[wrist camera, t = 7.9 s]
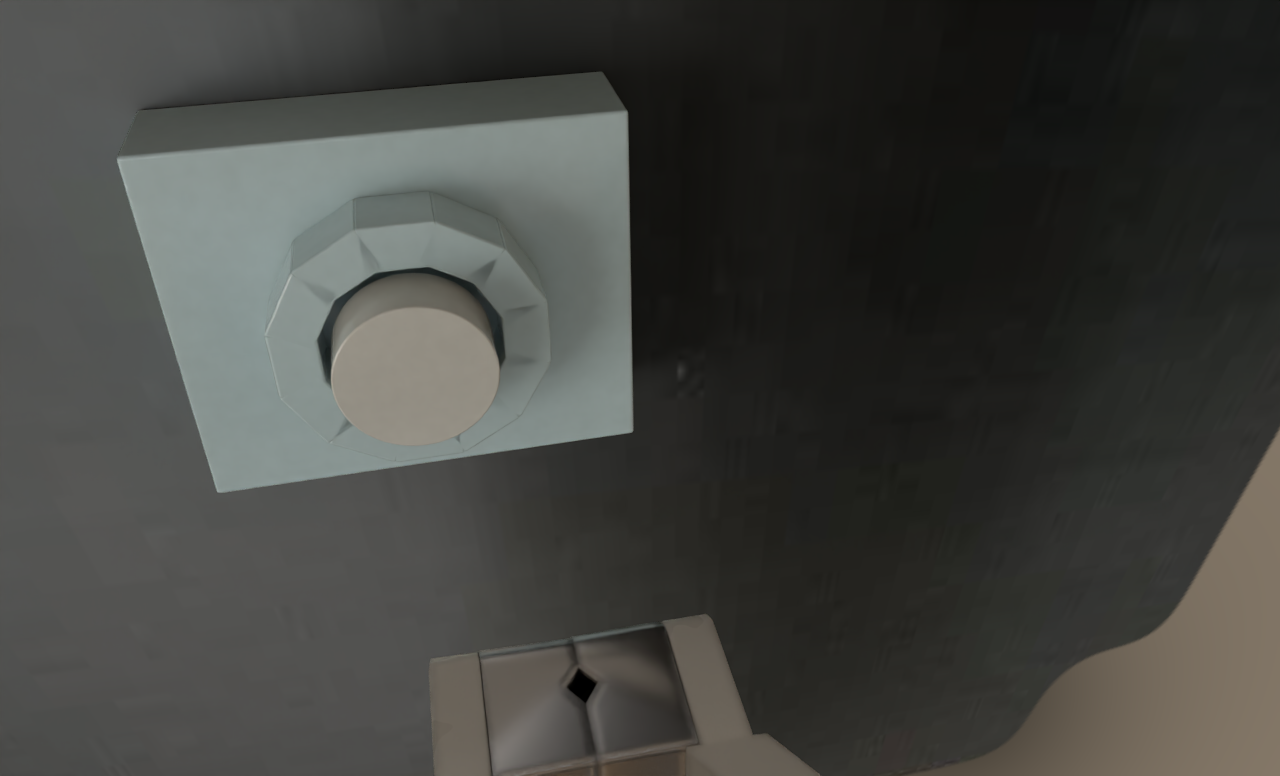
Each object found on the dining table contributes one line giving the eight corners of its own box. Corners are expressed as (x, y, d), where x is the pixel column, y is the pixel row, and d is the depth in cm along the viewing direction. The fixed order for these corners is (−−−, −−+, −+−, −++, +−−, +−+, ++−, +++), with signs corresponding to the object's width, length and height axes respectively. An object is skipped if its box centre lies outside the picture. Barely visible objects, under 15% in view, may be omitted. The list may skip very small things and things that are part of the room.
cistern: (603, 70, 29) (645, 136, 25) (612, 375, 35) (648, 470, 31) (135, 109, 27) (100, 189, 23) (226, 428, 33) (210, 537, 29)
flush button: (484, 262, 27) (492, 297, 25) (498, 395, 29) (506, 434, 27) (317, 281, 26) (316, 318, 24) (345, 417, 28) (345, 457, 27)
